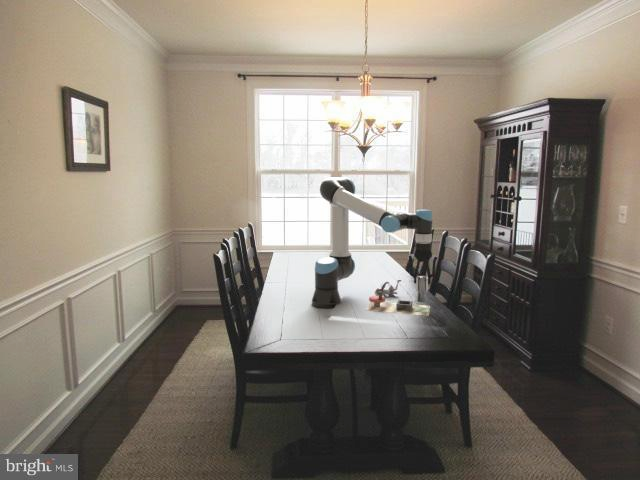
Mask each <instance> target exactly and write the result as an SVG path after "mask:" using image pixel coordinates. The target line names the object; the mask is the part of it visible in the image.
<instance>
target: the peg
mask: <svg viewBox="0 0 640 480" xmlns="http://www.w3.org/2000/svg"><path fill="white" fill-rule="evenodd" d="M417 276H418V291H417V302H419V303H426V302H427V291H426V278H427V277H428V276H426V275H417Z"/></svg>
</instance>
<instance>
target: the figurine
mask: <svg viewBox="0 0 640 480" xmlns="http://www.w3.org/2000/svg"><path fill="white" fill-rule="evenodd" d="M400 282H402V280H401V279H398V280H397V282H396V285H395V287H393V285H391V284H390V282H389V281H385V282H383V283H382V285H381V286H380V289H379V288H376V289H375V290H374V296H379V291H382V296H384V297H387V296H389V297H395V295H398V292H397V290H398V287H399V283H400ZM387 284H388V285H387ZM386 285H387V287H389V288H388V289H385V288H386Z"/></svg>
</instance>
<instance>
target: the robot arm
mask: <svg viewBox="0 0 640 480" xmlns="http://www.w3.org/2000/svg"><path fill="white" fill-rule="evenodd" d="M319 192H320V195H321V197H322V198H323V199H324V200H325V201H326V202H328V203H329V204H330V205H331V207H332V208H331V210H332V211H331V215H332V219H331V221H332V222H331V223H332V224H331V225H332V229H331V230H332V232H331V233H332V234H331V235H332V236H331V237H332V239H331V240H332V241H331V243H332V251H331V252H330V253H329V257H323V258H319V259H317V260H316V261H315V263H314V265H315V266H314V278H315V279H314V285H315V286H314V287H315V289H314V292H313V295H312V299H311V305H312V306H313V307H315V308H319V309H333V308H335V307H336V306H337V305H339V304H341V303H342V298H341V295H340V292H339V287H338V286H339V285H338V284H339V281H341V280H343V279H346V278H349V277H350V276H351V275H353V274H354V272H355V269H356V262H355V260H354V259H353V257H352V252H350V250H349V246H350V245H349V243H350V242H349V240H350V239H349V237H350V236H349V234H350V233H349V232H350V231H349V225H350V224H349V213H350V212H353V214H356V215H358V216H360V217H362V218H363V219H366V220H368V221H369V222H372V223H373V224H375V225H377V226H380V227H381V229H382V230H383V231H384V232H385V233H387V234H388V233H391V234H392V233H396V232H398V231H402V230H405V229H406V230H415V238H414V240H415V243H414V244H415V246H414V252H413V253H412V254H409V255H408V258H409V269H410V270H409V272H410V274H409V275H410V276H412V277H413V283H414V284H415V286H416V287H415V290H416V291H417V292H418V276H419V275H418V273H419V268H420V264H421V263H422V262H423V263H424V264H425V269H426V274H427V276H426V277H427V278H426V292H429V291H428V290H429V285H431V281H432V278H434V277H435V275H436V266H437V265H436V263H437V260H438V256H437V255H434V254H433V252H432V245H433V244H432V241H433V211H432V210H430V209H417V210H416V212H415V213H411V212H410V213H407V212H394V213H391V212H389V211H387V210H385V209H383V208H381V207H379V206H377V205H375V204H374V203H371V202H369V201H367V200H365V199H363V198H361V197H359V196H358V195H355V193H356V185H355V182H354V181H352V179H350V178H349V177H346V176H340V177H339V176H338V177H327V178H326V179H324V180H323V181H322V182H321V183H320V186H319ZM349 211H350V212H349ZM415 258H416V260H417V262H416V267H415V270H414V259H415ZM430 259H431V260H432V269H430V262H429V261H430ZM414 271H415V272H414ZM431 271H432V272H431Z"/></svg>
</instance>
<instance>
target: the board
mask: <svg viewBox="0 0 640 480" xmlns="http://www.w3.org/2000/svg"><path fill="white" fill-rule="evenodd" d="M365 311H368V312H377V313H378V312H380V313H388V314H389V313H391V314H403V315H411V316H426V317H429V315H430V311H431V305H425V304H415V303H414V304H413V300H402V299H401V300H400V299H398V300H397V302H389V301H385V302H382V303H380V307H374V302H370V301H369V303H368V305H367V307H366V308H365Z"/></svg>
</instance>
